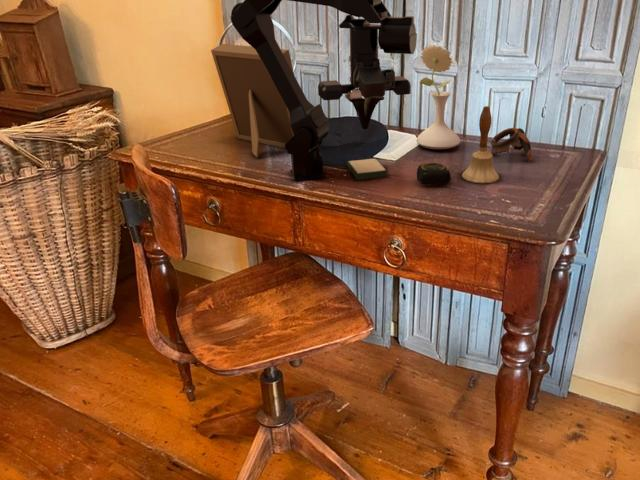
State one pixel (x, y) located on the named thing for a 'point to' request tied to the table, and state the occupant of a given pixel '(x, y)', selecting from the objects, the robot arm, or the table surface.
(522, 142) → the brown leather strap
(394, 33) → the robot arm
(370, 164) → the tan flat block
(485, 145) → the hand bell
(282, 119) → the photo frame
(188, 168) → the table surface
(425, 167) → the tape measure
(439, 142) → the flower in vase
